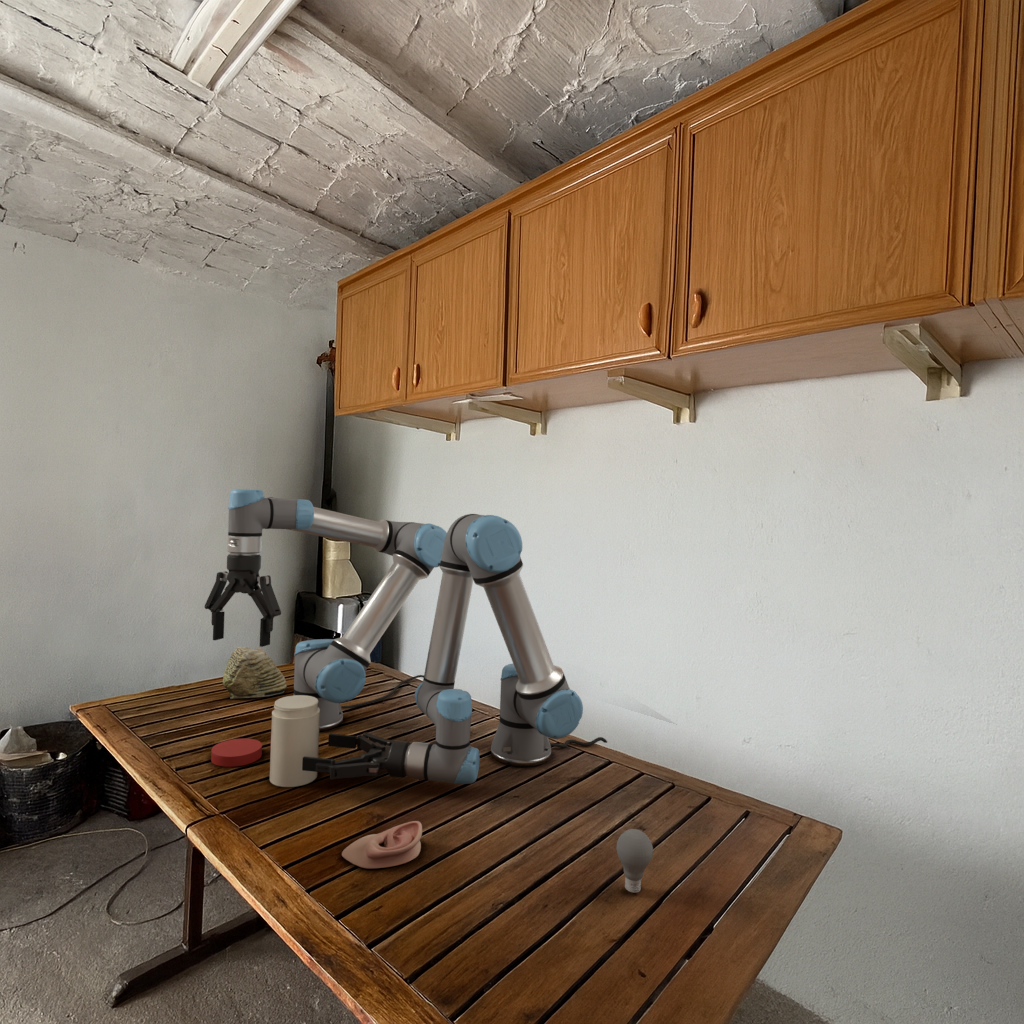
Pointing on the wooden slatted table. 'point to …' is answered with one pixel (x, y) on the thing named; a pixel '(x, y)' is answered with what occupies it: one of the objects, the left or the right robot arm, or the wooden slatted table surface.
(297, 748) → the jar
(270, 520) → the left robot arm
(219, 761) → the lid
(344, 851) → the anatomical model
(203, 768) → the wooden slatted table surface
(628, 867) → the light bulb
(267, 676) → the fossil
